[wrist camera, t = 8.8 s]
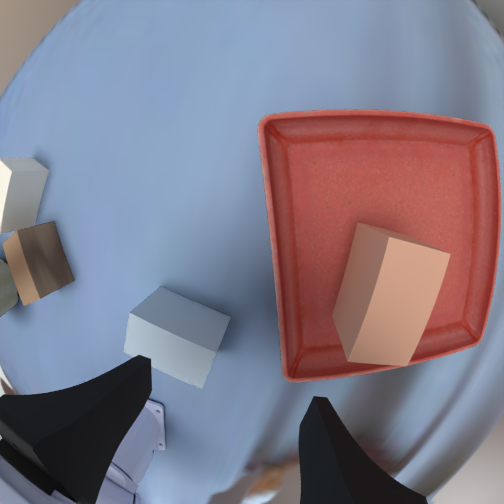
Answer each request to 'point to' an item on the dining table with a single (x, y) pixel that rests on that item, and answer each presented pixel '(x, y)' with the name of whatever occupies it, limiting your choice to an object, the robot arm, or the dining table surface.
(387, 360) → the terracotta brick
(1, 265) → the flower pot
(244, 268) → the dining table surface
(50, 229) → the walnut brick
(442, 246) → the plant saucer
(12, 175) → the cream brick
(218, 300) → the dining table surface
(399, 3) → the dining table surface
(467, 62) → the dining table surface
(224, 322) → the slate-blue brick
